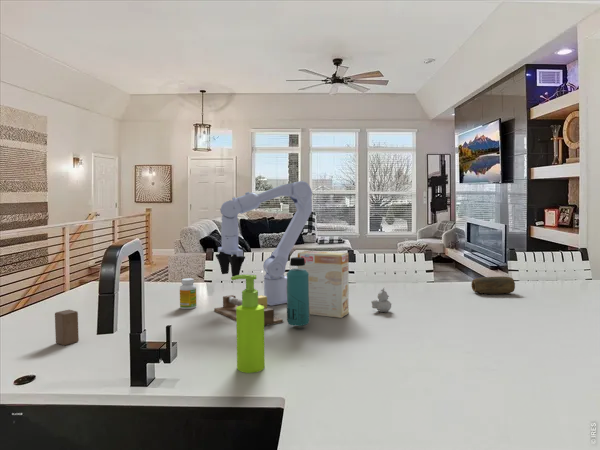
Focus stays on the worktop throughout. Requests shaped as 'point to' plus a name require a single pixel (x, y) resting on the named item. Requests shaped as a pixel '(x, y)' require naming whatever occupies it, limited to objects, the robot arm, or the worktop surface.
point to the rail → (232, 312)
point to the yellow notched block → (262, 301)
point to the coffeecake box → (327, 282)
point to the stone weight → (493, 285)
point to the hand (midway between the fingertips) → (230, 275)
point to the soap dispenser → (250, 329)
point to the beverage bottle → (297, 294)
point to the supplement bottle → (187, 294)
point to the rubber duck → (382, 302)
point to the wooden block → (66, 327)
